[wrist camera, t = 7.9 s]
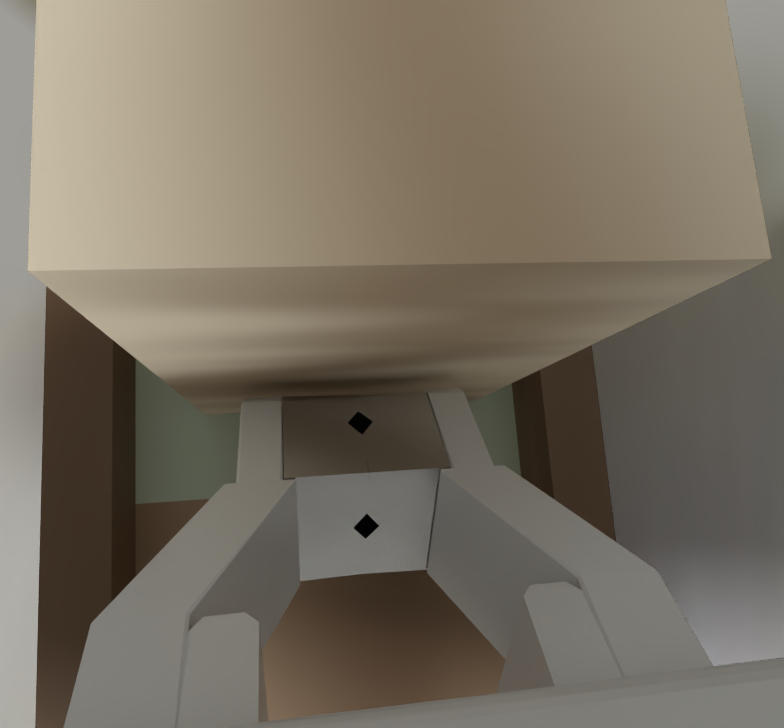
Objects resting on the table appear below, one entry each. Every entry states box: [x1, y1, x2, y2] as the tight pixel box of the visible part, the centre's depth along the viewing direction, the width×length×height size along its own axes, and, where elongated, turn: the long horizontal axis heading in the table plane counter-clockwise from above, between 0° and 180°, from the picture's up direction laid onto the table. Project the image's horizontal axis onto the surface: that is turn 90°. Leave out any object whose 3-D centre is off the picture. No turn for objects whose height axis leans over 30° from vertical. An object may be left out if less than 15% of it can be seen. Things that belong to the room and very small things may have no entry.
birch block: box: [28, 0, 772, 415], centre depth 9 cm, size 5×5×8 cm
